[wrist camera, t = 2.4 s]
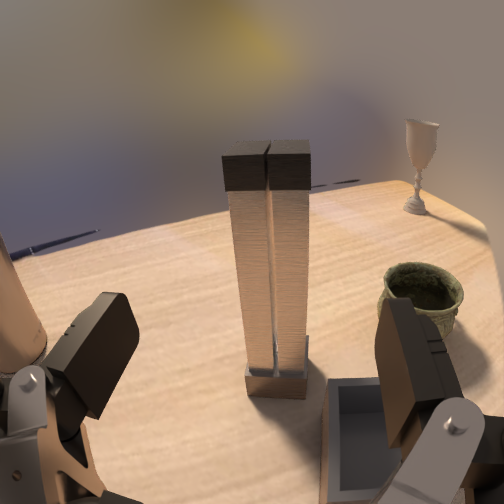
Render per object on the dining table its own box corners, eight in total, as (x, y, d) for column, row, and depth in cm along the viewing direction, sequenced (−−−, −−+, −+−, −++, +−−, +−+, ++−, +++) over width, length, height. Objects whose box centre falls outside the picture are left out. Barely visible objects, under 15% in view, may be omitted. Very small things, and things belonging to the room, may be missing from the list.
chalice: (437, 213, 56) (446, 126, 47) (416, 219, 54) (425, 125, 45) (413, 201, 62) (419, 119, 53) (391, 205, 60) (397, 118, 51)
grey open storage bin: (441, 501, 14) (473, 478, 11) (317, 517, 15) (327, 501, 13) (425, 406, 22) (445, 371, 19) (321, 413, 23) (327, 378, 21)
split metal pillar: (305, 399, 25) (314, 155, 15) (247, 395, 26) (215, 157, 16) (307, 357, 29) (312, 138, 19) (255, 354, 30) (235, 140, 20)
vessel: (420, 385, 24) (441, 337, 21) (348, 343, 30) (356, 294, 27) (460, 318, 30) (476, 273, 27) (401, 290, 37) (410, 246, 33)
